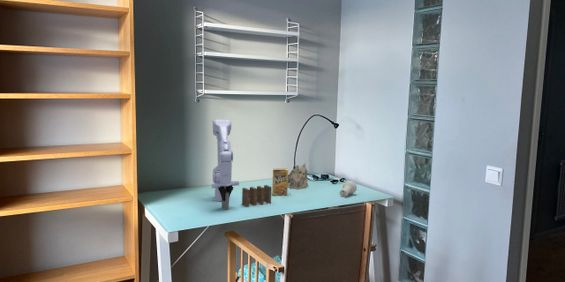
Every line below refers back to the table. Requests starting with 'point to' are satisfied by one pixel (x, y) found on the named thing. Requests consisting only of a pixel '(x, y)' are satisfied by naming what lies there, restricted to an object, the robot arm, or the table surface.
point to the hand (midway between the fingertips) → (225, 200)
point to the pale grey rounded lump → (348, 188)
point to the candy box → (280, 181)
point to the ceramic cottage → (298, 178)
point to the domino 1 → (226, 201)
